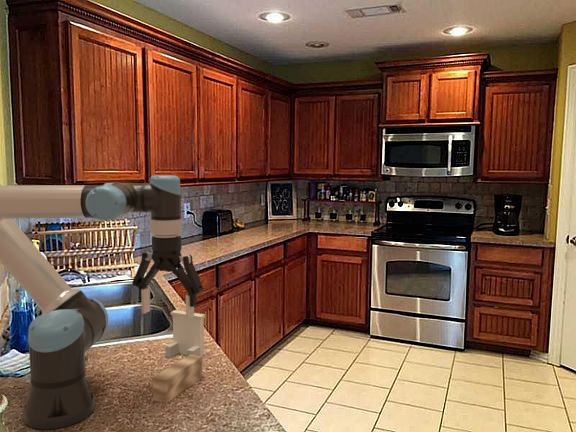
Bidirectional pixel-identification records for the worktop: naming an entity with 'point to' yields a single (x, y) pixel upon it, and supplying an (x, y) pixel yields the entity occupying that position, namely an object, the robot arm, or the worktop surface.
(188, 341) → the headboard
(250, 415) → the worktop surface
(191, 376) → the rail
